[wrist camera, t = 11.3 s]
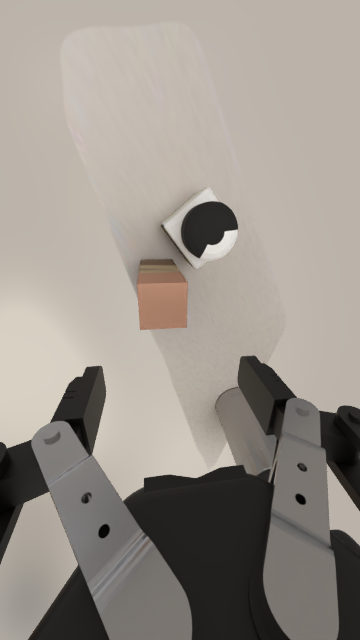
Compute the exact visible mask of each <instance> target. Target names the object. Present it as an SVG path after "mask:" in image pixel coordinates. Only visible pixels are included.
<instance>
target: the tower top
mask: <svg viewBox="0 0 360 640" xmlns="http://www.w3.org/2000/svg"><path fill="white" fill-rule="evenodd" d="M167 272H180V271H179V269H178V268H177V266H176V265H140V268H139V273H167Z"/></svg>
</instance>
